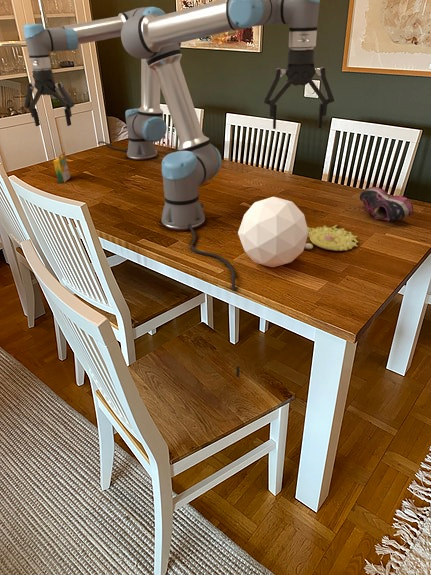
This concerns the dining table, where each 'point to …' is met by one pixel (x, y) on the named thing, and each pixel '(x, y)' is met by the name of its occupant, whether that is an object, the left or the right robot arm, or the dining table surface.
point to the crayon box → (61, 168)
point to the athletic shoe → (385, 204)
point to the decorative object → (331, 238)
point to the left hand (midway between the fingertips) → (53, 125)
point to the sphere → (273, 232)
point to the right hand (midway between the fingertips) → (296, 127)
